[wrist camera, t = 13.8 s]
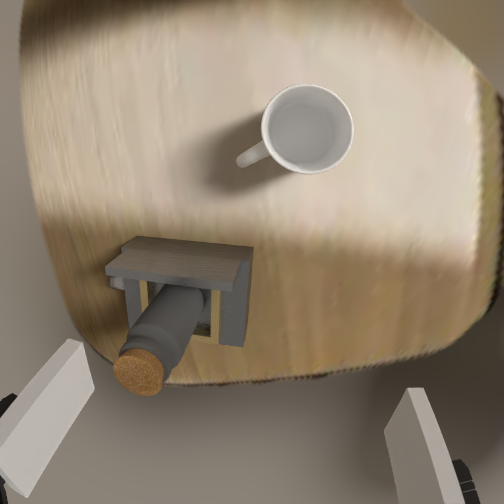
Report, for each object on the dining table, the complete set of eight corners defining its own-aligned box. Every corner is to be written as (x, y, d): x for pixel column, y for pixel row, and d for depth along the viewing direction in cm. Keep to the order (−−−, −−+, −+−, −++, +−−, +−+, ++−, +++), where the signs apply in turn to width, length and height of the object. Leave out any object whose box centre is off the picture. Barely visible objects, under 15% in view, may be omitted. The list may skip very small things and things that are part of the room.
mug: (258, 189, 39) (249, 206, 30) (227, 130, 37) (207, 126, 27) (347, 149, 36) (368, 152, 27) (317, 87, 34) (328, 70, 25)
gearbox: (118, 234, 43) (76, 262, 33) (253, 247, 42) (243, 283, 31) (125, 308, 47) (91, 348, 37) (247, 326, 46) (237, 376, 35)
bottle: (197, 274, 38) (152, 349, 24) (210, 317, 40) (176, 401, 26) (154, 282, 39) (96, 352, 25) (168, 322, 41) (123, 400, 27)
